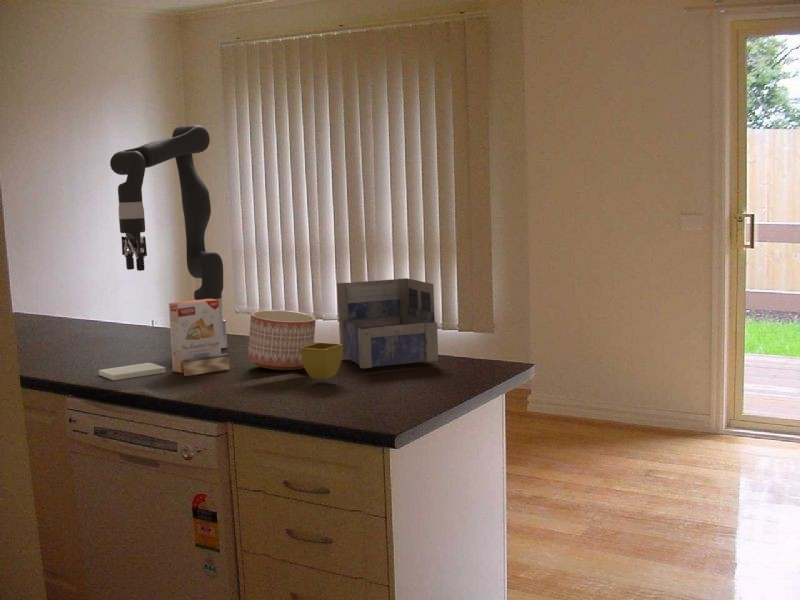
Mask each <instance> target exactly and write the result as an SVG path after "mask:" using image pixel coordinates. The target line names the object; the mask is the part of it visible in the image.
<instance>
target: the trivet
mask: <svg viewBox="0 0 800 600" xmlns="http://www.w3.org/2000/svg"><path fill="white" fill-rule="evenodd" d="M166 372H167V370H166V366H161V365H159V364H157V363H152V362H145V363H137V364H132V365H131V364H130V365H125V366H119V367H118V366H117V367H110V368H104V369H98V375H99V376H101V377H103V378H105V379H109V380H111V381H118V380H119V381H120V380H125V379H132V378H139V377H144V376H152V375H159V374H164V373H166Z"/></svg>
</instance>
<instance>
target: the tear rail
mask: <svg viewBox="0 0 800 600" xmlns="http://www.w3.org/2000/svg"><path fill="white" fill-rule="evenodd" d="M183 365H184V373H183V375H184V376H185V377H189V376H195V375H200V374H201V375H202V374H208V373H213V372H221V371H226V370H227V371H228V370H230V369H231V366H230V354H229V353H221V354H220V355H213V356H206V357H199V358H192V359H186V360H183Z"/></svg>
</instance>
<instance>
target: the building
mask: <svg viewBox="0 0 800 600" xmlns="http://www.w3.org/2000/svg"><path fill="white" fill-rule="evenodd" d="M336 288H337V308H338V309H337V310H338V327H339V328H338V329H339V344H342V356H341V358H343V359H344V358H346V359H348V360H350V361H352V362H354V363H356V364H357V365H358V366H359V368H361V369H370V368H374V367H382V366H383V367H384V366H393V365H401V364H412V363H422V362H426V363H427V362H428V363H429V362H436V361H437V362H438V361H439V343H438V342H439V337H438V322H437V321H435V320H436V319H435V296H434V295H435V293H434V291H435V289H434V288H435V287H434V284H433V283H431V282H426V281H421V280H417V279H412V278H407V277H405V278H404V277H403V278H397V279H394V278H393V279H382V280H381V279H380V280H368V281H367V280H366V281H355V282H354V281H353V282H351V281H350V282H338V283H336Z"/></svg>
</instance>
